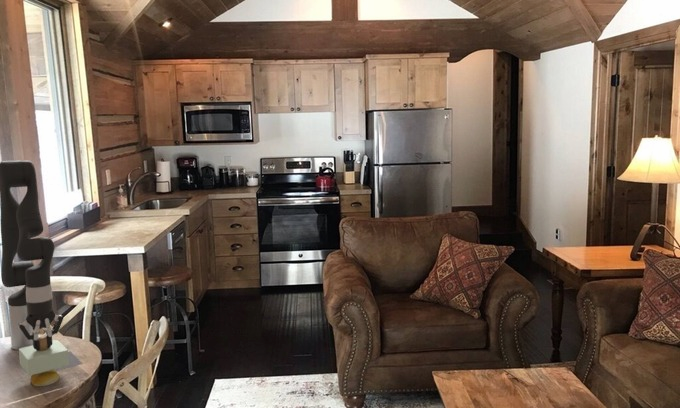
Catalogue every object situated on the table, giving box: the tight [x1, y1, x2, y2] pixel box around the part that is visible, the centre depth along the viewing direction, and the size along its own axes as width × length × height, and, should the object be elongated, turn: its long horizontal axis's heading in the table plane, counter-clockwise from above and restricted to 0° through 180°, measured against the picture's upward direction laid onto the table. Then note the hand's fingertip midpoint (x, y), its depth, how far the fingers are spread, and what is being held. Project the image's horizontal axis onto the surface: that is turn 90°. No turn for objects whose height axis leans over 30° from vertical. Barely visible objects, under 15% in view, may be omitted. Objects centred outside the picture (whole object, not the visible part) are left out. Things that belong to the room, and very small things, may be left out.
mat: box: [54, 351, 83, 372], centre depth 196 cm, size 14×14×1 cm
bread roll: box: [30, 369, 60, 387], centre depth 183 cm, size 8×9×4 cm
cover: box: [18, 335, 69, 377], centre depth 182 cm, size 12×12×9 cm
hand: (42, 348), depth 181 cm, fingers closed on cover, 3 cm apart
